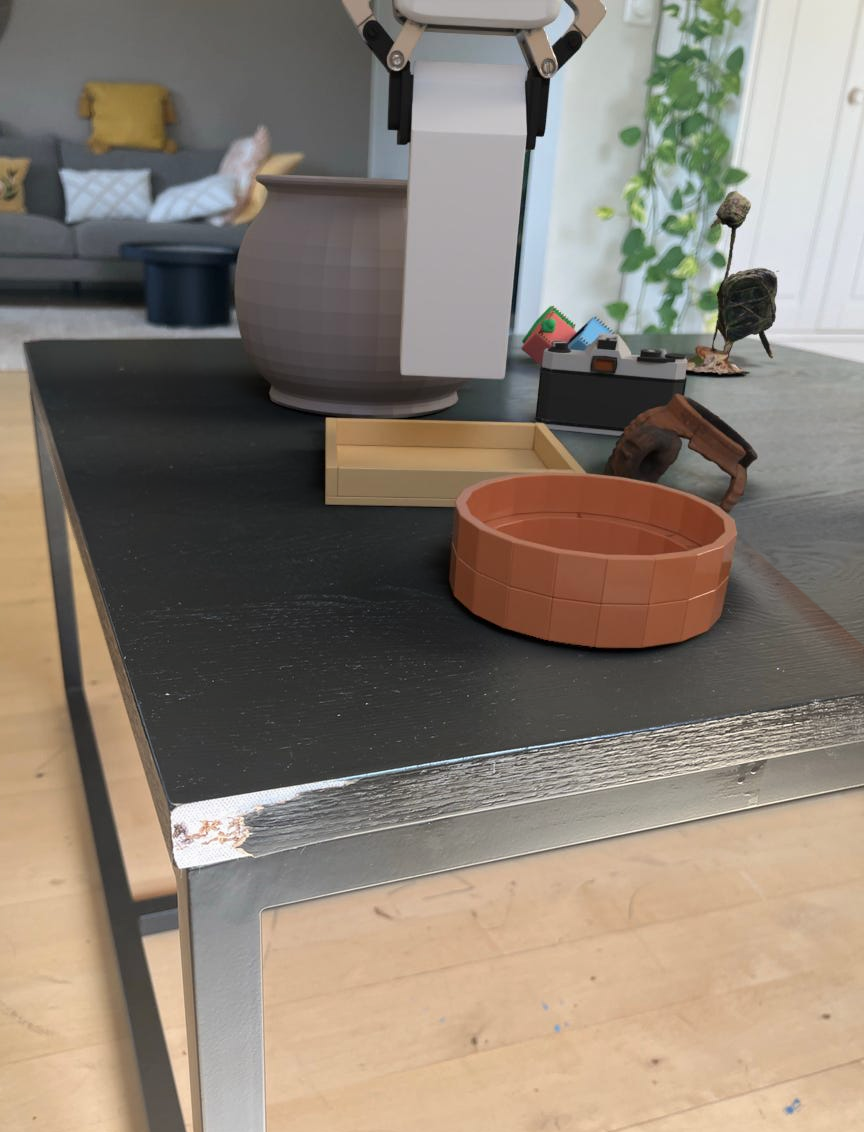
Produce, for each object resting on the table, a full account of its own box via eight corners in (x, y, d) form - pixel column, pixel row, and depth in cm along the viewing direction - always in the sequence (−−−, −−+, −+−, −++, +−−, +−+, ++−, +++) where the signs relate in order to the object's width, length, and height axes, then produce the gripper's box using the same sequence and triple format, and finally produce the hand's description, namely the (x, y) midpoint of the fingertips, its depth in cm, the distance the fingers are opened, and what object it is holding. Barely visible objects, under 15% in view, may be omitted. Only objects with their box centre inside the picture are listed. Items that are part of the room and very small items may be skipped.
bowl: (668, 554, 60) (682, 474, 58) (762, 659, 47) (784, 561, 45) (437, 551, 59) (442, 469, 57) (468, 656, 46) (476, 556, 44)
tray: (540, 454, 81) (543, 422, 80) (582, 509, 68) (587, 473, 66) (325, 449, 80) (325, 417, 78) (325, 505, 66) (325, 467, 65)
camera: (678, 424, 93) (687, 324, 89) (682, 442, 86) (691, 335, 82) (539, 422, 96) (542, 326, 92) (532, 440, 89) (535, 336, 85)
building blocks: (554, 404, 121) (606, 360, 110) (503, 362, 120) (551, 313, 109) (583, 360, 124) (637, 313, 113) (534, 318, 123) (583, 267, 112)
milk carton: (504, 382, 67) (533, 59, 59) (400, 377, 67) (415, 53, 59) (494, 364, 73) (519, 71, 65) (399, 360, 73) (412, 66, 65)
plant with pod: (770, 383, 114) (808, 194, 106) (670, 373, 117) (699, 189, 109) (768, 371, 121) (804, 193, 113) (674, 363, 124) (702, 189, 116)
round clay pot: (184, 406, 92) (172, 171, 83) (314, 367, 112) (316, 175, 104) (430, 443, 83) (445, 183, 74) (523, 393, 103) (543, 185, 95)
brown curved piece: (618, 477, 77) (689, 389, 73) (707, 557, 73) (787, 469, 70) (549, 467, 67) (627, 365, 64) (648, 558, 64) (736, 456, 60)
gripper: (335, -232, 53) (331, 139, 60) (655, -210, 54) (611, 152, 61) (334, -186, 59) (330, 142, 67) (618, -168, 60) (582, 153, 68)
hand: (464, 144), depth 64 cm, fingers closed on milk carton, 7 cm apart
